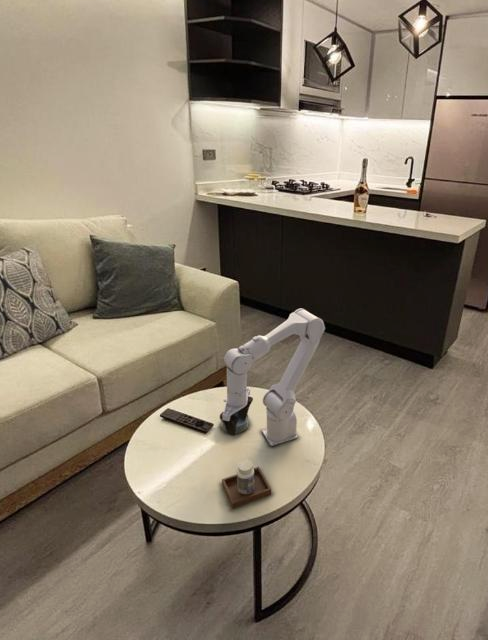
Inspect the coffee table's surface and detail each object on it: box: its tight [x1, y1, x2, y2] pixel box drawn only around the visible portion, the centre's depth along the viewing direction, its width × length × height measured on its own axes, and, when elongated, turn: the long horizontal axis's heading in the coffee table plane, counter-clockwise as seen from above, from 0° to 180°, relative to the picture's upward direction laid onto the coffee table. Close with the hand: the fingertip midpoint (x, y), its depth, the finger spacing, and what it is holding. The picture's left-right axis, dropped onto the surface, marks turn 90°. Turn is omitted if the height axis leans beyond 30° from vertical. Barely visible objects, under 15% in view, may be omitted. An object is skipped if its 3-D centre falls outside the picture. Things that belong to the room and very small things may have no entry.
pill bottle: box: [236, 459, 254, 494], centre depth 113 cm, size 5×5×8 cm
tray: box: [221, 466, 272, 510], centre depth 114 cm, size 11×9×2 cm
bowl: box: [220, 411, 250, 434], centre depth 139 cm, size 9×9×3 cm
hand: (237, 426), depth 123 cm, fingers open, 7 cm apart
